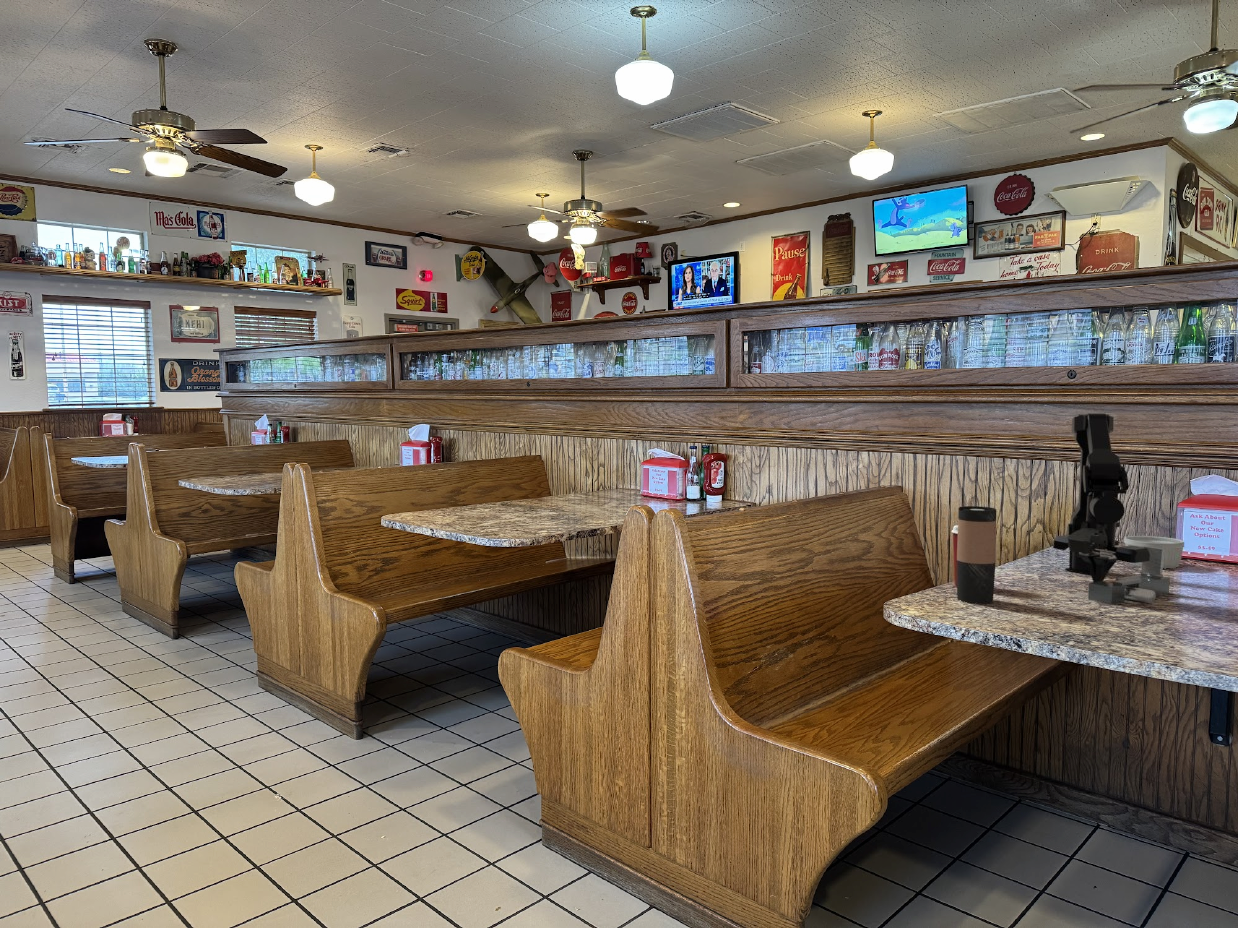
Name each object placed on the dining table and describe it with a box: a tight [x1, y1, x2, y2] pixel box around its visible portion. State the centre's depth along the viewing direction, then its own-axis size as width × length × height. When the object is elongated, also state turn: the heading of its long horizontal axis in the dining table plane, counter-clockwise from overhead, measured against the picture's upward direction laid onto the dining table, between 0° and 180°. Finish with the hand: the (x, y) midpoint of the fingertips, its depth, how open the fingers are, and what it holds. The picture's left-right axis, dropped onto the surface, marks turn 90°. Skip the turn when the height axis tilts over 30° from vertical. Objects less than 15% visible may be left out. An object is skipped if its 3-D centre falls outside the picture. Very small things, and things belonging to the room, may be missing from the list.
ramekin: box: [1123, 535, 1185, 570], centre depth 213 cm, size 13×13×7 cm
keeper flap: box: [1139, 547, 1164, 578], centre depth 181 cm, size 4×1×6 cm, turn 27°
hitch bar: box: [1087, 574, 1171, 605], centre depth 177 cm, size 5×21×4 cm, turn 117°
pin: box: [1103, 578, 1156, 604], centre depth 175 cm, size 10×7×3 cm
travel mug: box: [956, 505, 997, 605], centre depth 174 cm, size 8×8×20 cm
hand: (1097, 586), depth 180 cm, fingers closed
